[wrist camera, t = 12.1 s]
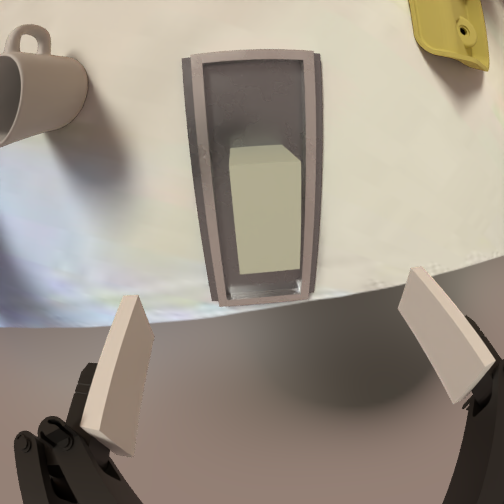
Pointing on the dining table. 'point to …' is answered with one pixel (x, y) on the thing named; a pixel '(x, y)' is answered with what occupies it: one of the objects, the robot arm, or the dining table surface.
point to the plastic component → (452, 30)
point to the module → (266, 207)
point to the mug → (37, 87)
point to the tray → (253, 134)
